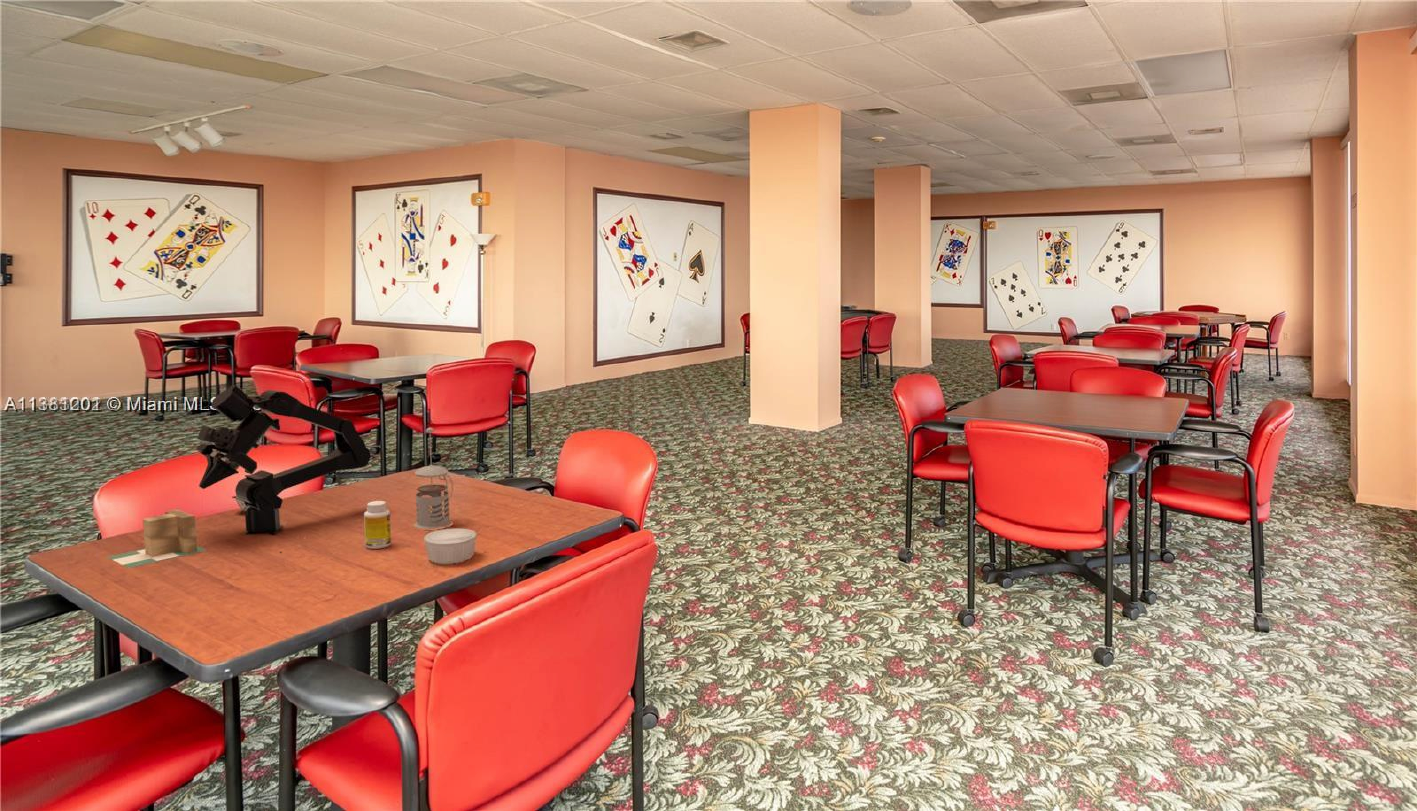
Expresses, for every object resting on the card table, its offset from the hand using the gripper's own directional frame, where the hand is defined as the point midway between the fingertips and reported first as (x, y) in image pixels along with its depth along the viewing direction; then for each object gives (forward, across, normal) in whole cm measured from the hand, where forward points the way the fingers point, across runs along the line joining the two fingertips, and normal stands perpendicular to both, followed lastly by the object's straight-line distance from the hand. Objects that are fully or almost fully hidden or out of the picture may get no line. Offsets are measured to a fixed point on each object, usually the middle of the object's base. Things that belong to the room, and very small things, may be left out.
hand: (201, 487), depth 191 cm
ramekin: (-11, +52, +30) cm, 61 cm away
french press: (-21, +27, +40) cm, 53 cm away
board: (+17, 0, +3) cm, 17 cm away
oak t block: (+15, 0, +4) cm, 15 cm away
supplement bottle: (-7, +32, +27) cm, 42 cm away
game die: (-5, -21, +24) cm, 33 cm away
